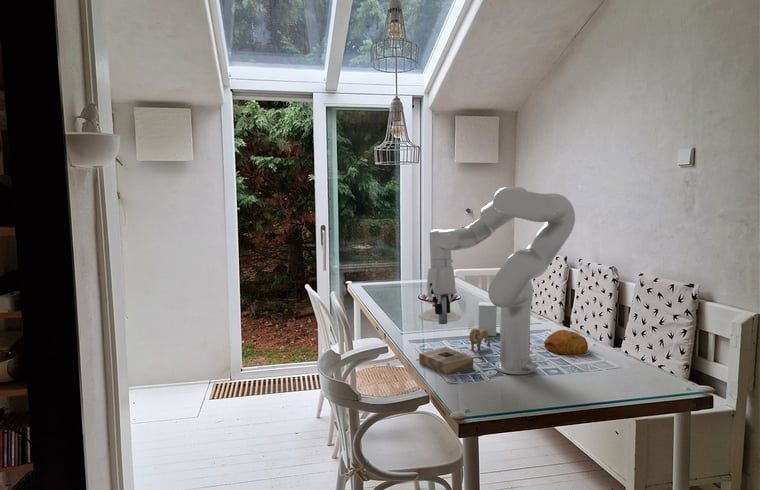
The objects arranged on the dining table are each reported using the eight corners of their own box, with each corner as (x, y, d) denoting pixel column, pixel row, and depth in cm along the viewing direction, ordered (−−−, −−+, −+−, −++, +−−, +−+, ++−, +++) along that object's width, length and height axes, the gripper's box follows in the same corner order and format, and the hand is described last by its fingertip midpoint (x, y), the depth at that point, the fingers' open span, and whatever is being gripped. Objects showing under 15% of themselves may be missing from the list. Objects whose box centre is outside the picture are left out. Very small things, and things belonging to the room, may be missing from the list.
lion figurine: (480, 355, 185) (481, 330, 185) (466, 353, 188) (466, 329, 187) (491, 344, 198) (492, 321, 197) (478, 342, 201) (478, 320, 200)
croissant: (566, 347, 200) (565, 327, 200) (596, 353, 186) (594, 331, 186) (535, 351, 195) (534, 330, 195) (563, 357, 180) (562, 334, 181)
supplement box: (496, 336, 209) (496, 305, 208) (477, 335, 211) (478, 305, 209) (496, 331, 216) (496, 302, 215) (478, 330, 218) (478, 301, 217)
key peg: (450, 323, 187) (449, 290, 186) (442, 325, 185) (441, 291, 184) (443, 321, 190) (442, 289, 189) (435, 323, 188) (434, 290, 187)
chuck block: (473, 367, 172) (473, 356, 172) (446, 374, 166) (446, 363, 165) (445, 356, 184) (445, 346, 184) (419, 363, 177) (419, 352, 177)
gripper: (451, 260, 193) (452, 308, 195) (416, 264, 184) (418, 315, 186) (464, 261, 187) (466, 311, 189) (429, 266, 178) (431, 318, 179)
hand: (442, 312), depth 187 cm, fingers closed on key peg, 3 cm apart
